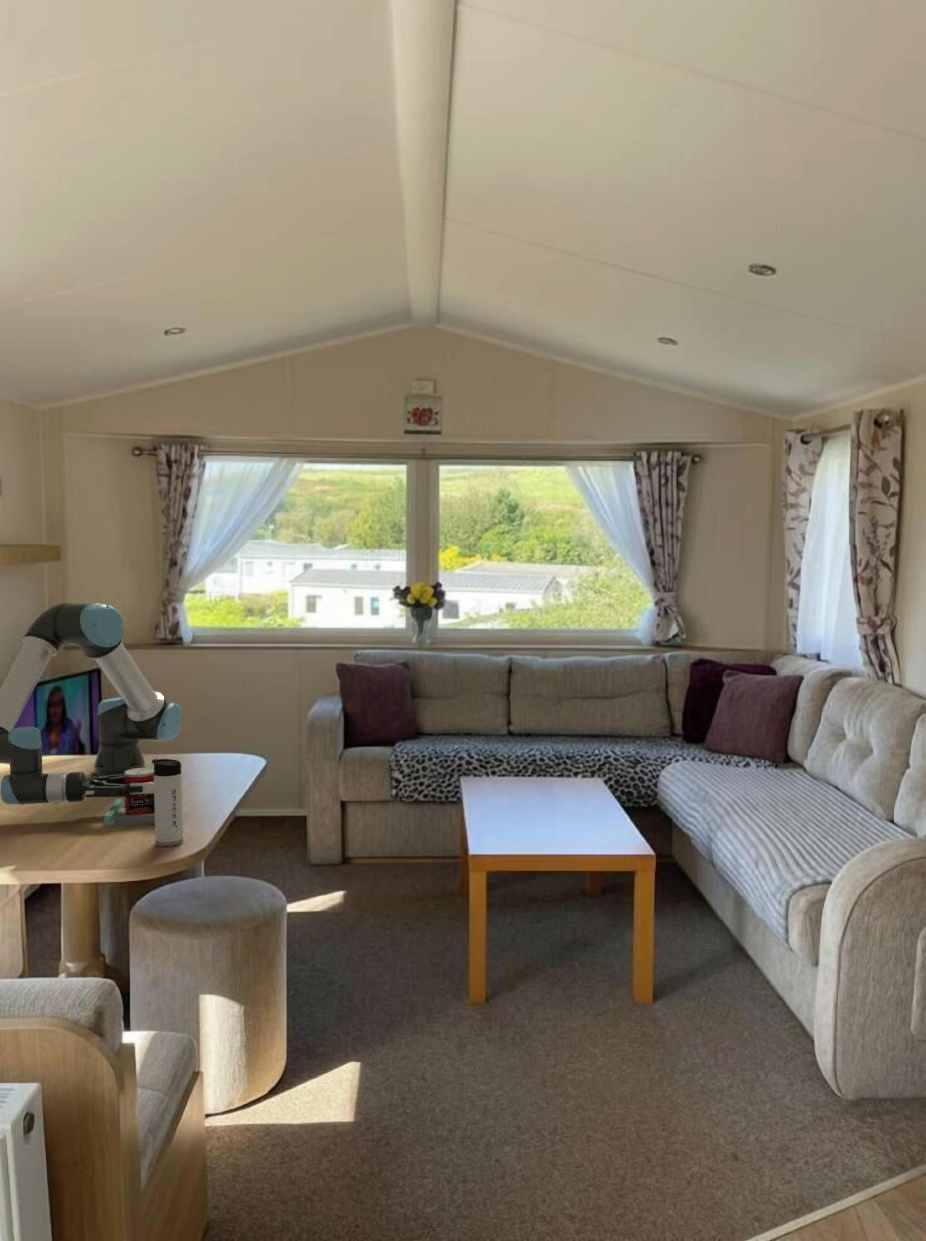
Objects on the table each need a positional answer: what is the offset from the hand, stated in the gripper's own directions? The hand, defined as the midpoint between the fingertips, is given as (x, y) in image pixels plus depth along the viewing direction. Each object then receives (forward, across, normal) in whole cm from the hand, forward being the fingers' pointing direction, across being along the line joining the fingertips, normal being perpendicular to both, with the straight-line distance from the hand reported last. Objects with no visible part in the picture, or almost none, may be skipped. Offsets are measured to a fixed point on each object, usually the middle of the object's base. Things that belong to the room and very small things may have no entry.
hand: (158, 783), depth 251 cm
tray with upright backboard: (-5, 0, -8) cm, 9 cm away
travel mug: (+5, +26, -8) cm, 28 cm away
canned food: (-5, 0, -8) cm, 9 cm away
